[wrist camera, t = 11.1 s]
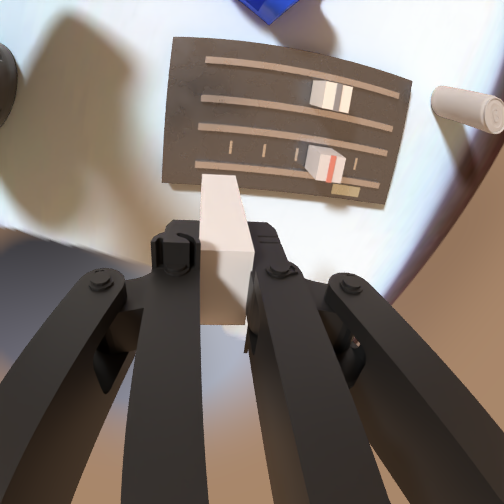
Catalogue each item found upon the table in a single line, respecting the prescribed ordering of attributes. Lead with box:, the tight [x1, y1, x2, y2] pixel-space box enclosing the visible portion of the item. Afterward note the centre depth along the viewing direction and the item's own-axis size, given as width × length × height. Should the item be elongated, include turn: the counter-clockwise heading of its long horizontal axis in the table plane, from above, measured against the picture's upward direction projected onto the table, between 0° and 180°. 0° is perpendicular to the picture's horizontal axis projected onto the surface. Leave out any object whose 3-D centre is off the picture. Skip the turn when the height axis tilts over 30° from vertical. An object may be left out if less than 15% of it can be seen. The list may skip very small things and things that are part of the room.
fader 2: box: [305, 145, 346, 183], centre depth 36 cm, size 3×3×5 cm
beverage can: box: [431, 86, 504, 134], centre depth 32 cm, size 5×5×12 cm
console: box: [162, 37, 412, 204], centre depth 36 cm, size 30×18×3 cm, turn 83°
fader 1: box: [309, 80, 353, 113], centre depth 32 cm, size 3×3×5 cm
